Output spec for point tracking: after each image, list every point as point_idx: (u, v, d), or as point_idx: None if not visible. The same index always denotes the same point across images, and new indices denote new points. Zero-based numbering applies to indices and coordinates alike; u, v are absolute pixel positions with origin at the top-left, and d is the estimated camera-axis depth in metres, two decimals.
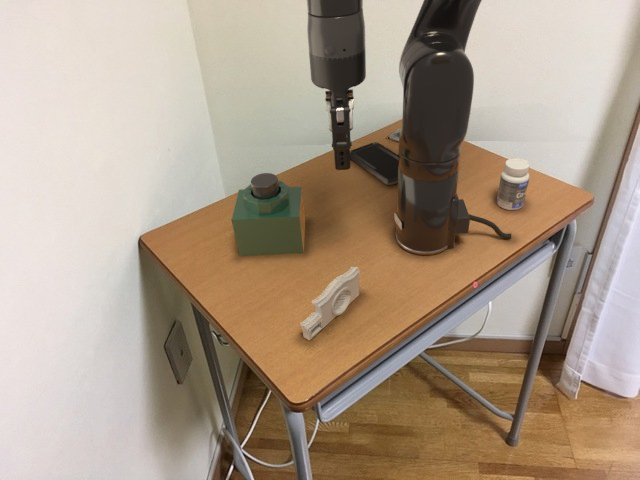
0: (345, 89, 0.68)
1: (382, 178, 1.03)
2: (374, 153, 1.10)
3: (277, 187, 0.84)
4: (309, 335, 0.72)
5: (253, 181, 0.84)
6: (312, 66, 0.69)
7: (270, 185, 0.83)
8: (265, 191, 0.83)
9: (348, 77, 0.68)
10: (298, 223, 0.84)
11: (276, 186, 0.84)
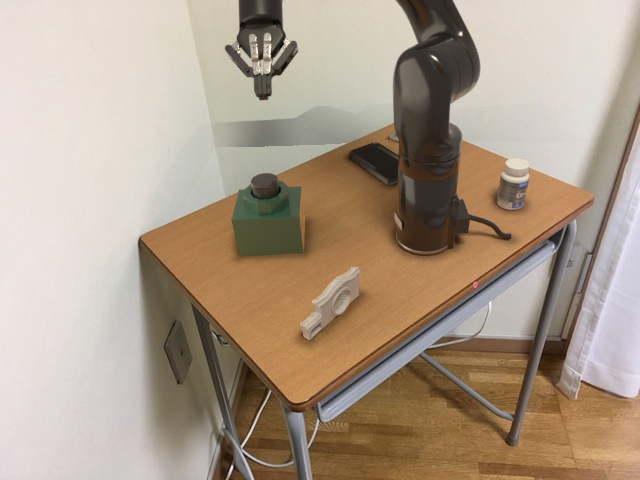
0: (239, 26, 0.89)
1: (382, 178, 1.03)
2: (374, 153, 1.10)
3: (277, 187, 0.84)
4: (309, 335, 0.72)
5: (253, 181, 0.84)
6: None
7: (270, 185, 0.83)
8: (265, 191, 0.83)
9: (239, 16, 0.88)
10: (298, 223, 0.84)
11: (276, 186, 0.84)
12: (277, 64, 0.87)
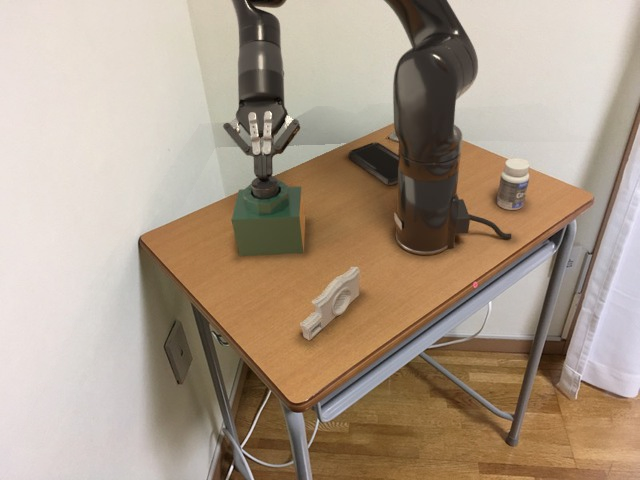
0: None
1: (382, 178, 1.03)
2: (374, 153, 1.10)
3: (277, 189, 0.84)
4: (309, 335, 0.72)
5: (253, 183, 0.84)
6: None
7: (270, 187, 0.83)
8: (265, 194, 0.83)
9: (238, 92, 0.84)
10: (298, 223, 0.84)
11: (276, 188, 0.84)
12: (279, 143, 0.83)
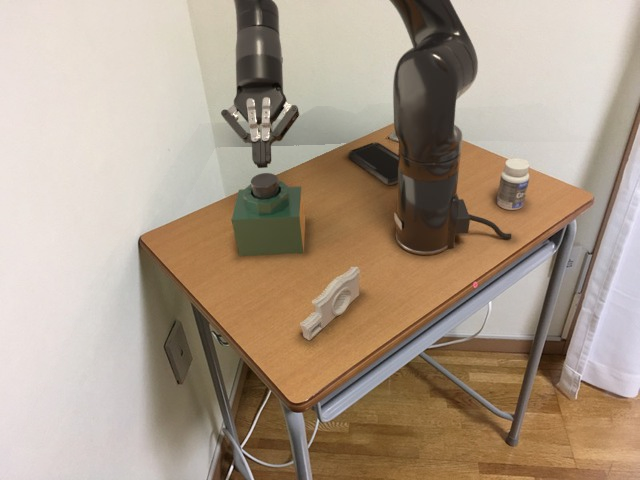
0: None
1: (382, 178, 1.03)
2: (374, 153, 1.10)
3: (277, 187, 0.84)
4: (309, 335, 0.72)
5: (253, 181, 0.84)
6: None
7: (270, 185, 0.83)
8: (265, 191, 0.83)
9: (236, 78, 0.83)
10: (298, 223, 0.84)
11: (276, 186, 0.84)
12: (277, 130, 0.82)
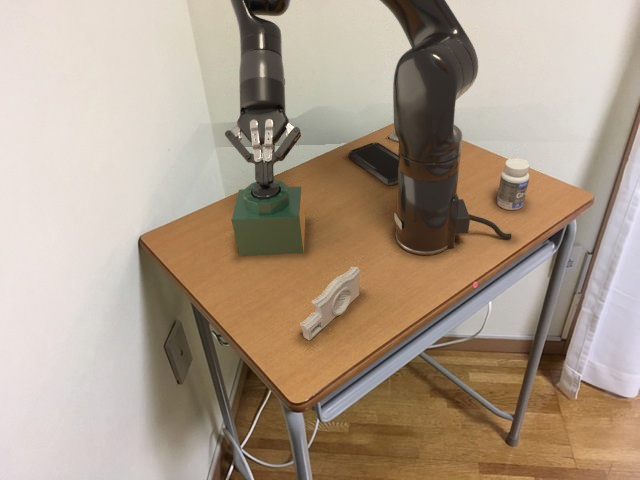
0: (240, 110, 0.86)
1: (382, 178, 1.03)
2: (374, 153, 1.10)
3: None
4: (309, 335, 0.72)
5: (254, 190, 0.85)
6: None
7: (271, 194, 0.84)
8: None
9: (240, 100, 0.85)
10: (298, 223, 0.84)
11: None
12: (280, 151, 0.84)
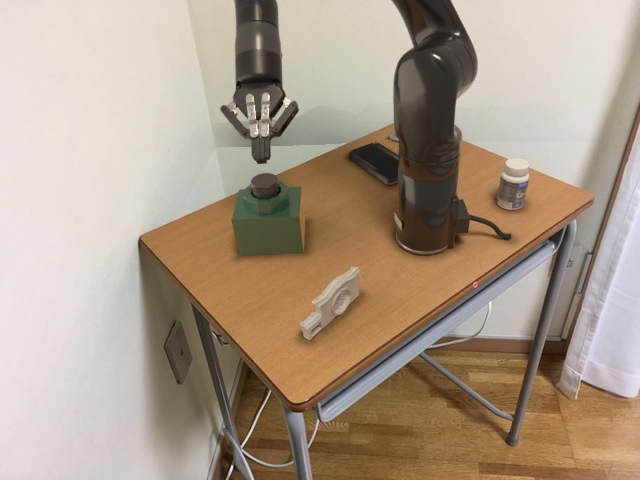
0: None
1: (382, 178, 1.03)
2: (374, 153, 1.10)
3: (277, 187, 0.84)
4: (309, 335, 0.72)
5: (253, 181, 0.84)
6: None
7: (270, 185, 0.83)
8: (265, 191, 0.83)
9: (235, 74, 0.82)
10: (298, 223, 0.84)
11: (276, 186, 0.84)
12: (277, 126, 0.81)
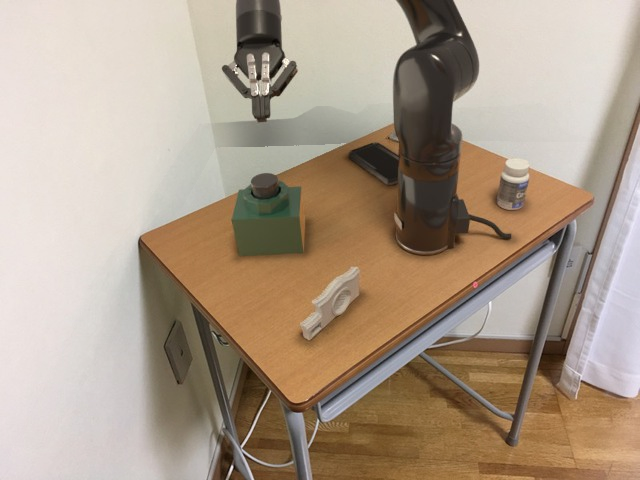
0: None
1: (382, 178, 1.03)
2: (374, 153, 1.10)
3: (277, 187, 0.84)
4: (309, 335, 0.72)
5: (253, 181, 0.84)
6: None
7: (270, 185, 0.83)
8: (265, 191, 0.83)
9: (236, 35, 0.85)
10: (298, 223, 0.84)
11: (276, 186, 0.84)
12: (276, 85, 0.84)
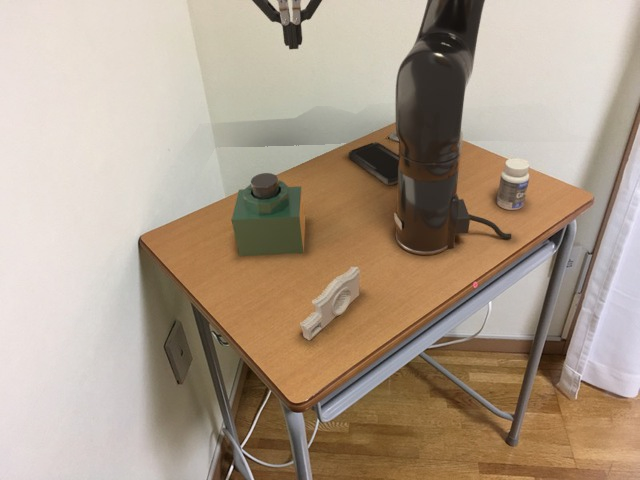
0: None
1: (382, 178, 1.03)
2: (374, 153, 1.10)
3: (277, 187, 0.84)
4: (309, 335, 0.72)
5: (253, 181, 0.84)
6: None
7: (270, 185, 0.83)
8: (265, 191, 0.83)
9: None
10: (298, 223, 0.84)
11: (276, 186, 0.84)
12: (308, 13, 0.78)
